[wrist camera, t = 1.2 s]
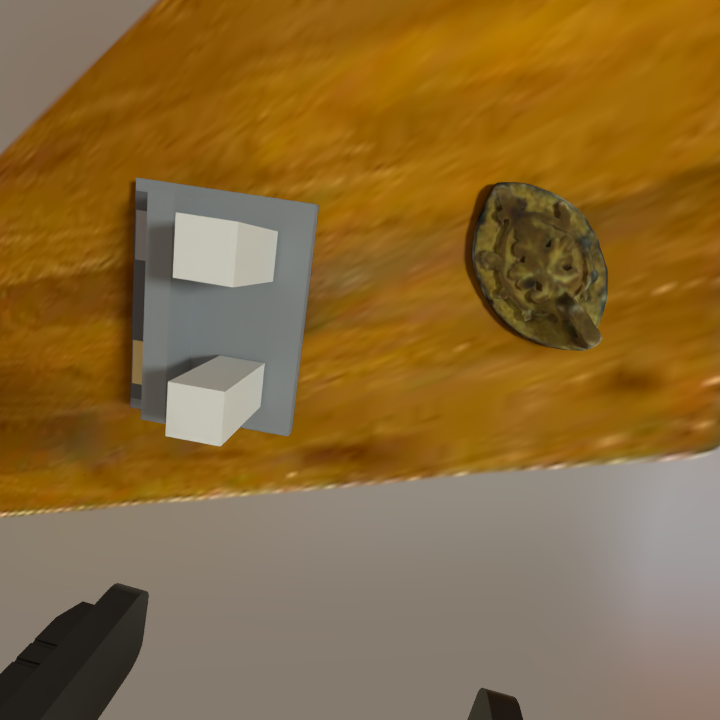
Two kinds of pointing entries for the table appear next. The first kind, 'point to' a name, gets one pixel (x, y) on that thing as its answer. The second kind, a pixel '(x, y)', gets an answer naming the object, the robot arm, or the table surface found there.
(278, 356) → the plate
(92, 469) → the table surface
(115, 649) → the robot arm
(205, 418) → the tall white pillar block
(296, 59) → the table surface
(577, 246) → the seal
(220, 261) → the white rectangular block
